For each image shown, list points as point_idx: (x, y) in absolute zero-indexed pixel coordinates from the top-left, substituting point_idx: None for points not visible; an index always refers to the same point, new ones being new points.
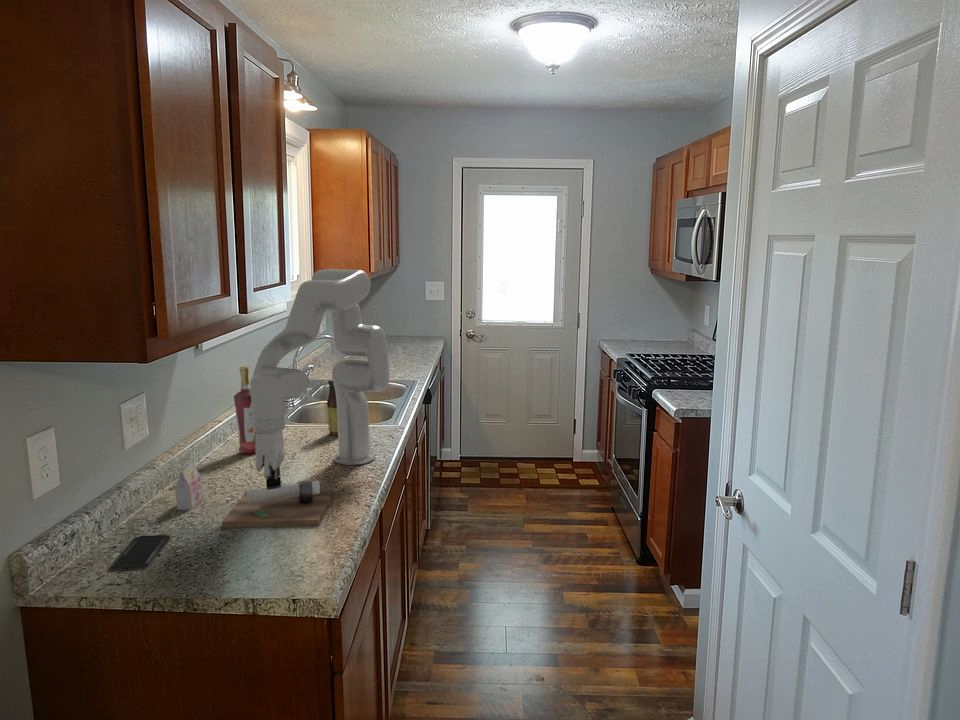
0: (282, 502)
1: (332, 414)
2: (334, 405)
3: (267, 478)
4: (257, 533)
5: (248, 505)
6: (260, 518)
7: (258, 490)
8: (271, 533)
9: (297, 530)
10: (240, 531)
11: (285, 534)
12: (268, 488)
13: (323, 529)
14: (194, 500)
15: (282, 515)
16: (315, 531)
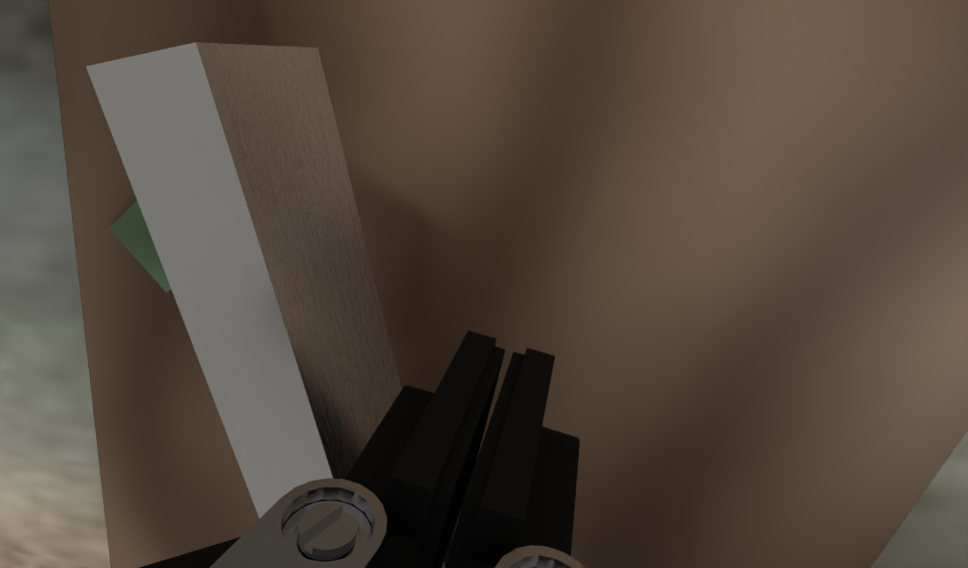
0: (491, 408)
1: None
2: None
3: (282, 526)
4: (7, 163)
5: (502, 37)
6: (124, 199)
7: (190, 263)
8: (18, 267)
9: (76, 427)
10: (27, 3)
11: (14, 354)
12: (267, 413)
13: (97, 551)
14: None
15: (182, 382)
16: (69, 512)
